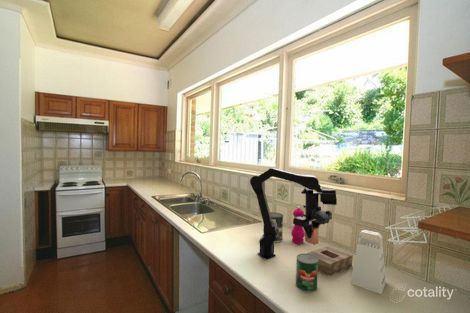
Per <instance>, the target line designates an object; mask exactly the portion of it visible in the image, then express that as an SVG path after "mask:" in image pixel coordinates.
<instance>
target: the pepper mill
mask: <svg viewBox="0 0 470 313" xmlns="http://www.w3.org/2000/svg"><path fill="white" fill-rule="evenodd" d="M303 214H305V210H303V209H301V206H299V205H298V206H297V207H296V208H295V209H294V210H293V212H292V215H293V219H294V218H295V217H303V218H304V216H303ZM293 225H294V226H293V228H292V230H291V233H290V234H291V237H292V238H291V242H292V243H294V244H298V245H299V244H300V245H302V244H304V243H305V242H304V241H305V230H304V228H303V227H301V226H298V225H295V224H293Z"/></svg>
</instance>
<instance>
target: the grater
mask: <svg viewBox="0 0 470 313" xmlns="http://www.w3.org/2000/svg"><path fill="white" fill-rule="evenodd" d="M362 233H366V234H369V235H373V236H378V237H379V239H380V240H379V241H376V240H371V239H366V238H361V237H362ZM366 244H367V245H366ZM384 255H385V254H384V245H383V236H382V234H381V233H380V232H376V231H371V230H367V229H363V230H361V231H360V232H359V234H358V242H357V245H356V250H355V255H354V260H353V265H352V272H351V278H350V284H351V285H354V286H356V287H360V288H362V289H366V290H369V291H371V292H374V293H377V294H381V295H382V294H383V290H384V288H385V286H386V282H387V277H386V268H385V265H386V264H385V256H384Z"/></svg>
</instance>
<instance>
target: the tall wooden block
mask: <svg viewBox="0 0 470 313" xmlns="http://www.w3.org/2000/svg"><path fill="white" fill-rule="evenodd" d="M304 232H305V231H304ZM304 241H305V242H306V243H309V244H311V245H313V246H314V245H318V244H319V228H317V227H314V226H313V227H312V228H311V238H310V239H309V238H308V237H307V234H306V232H305V236H304Z"/></svg>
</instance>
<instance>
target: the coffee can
mask: <svg viewBox="0 0 470 313" xmlns="http://www.w3.org/2000/svg"><path fill="white" fill-rule="evenodd" d="M270 214H271V218H272V221H273V223H277V228H278V230H279V232H278V235H277V238H276V240H275V241H274V243H281V242H282V241H283V240H284V239H283V238H284V235H283V233H284V232H283V230H284V214H283V213H281V212H273V211H272V212H271V211H270Z"/></svg>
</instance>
